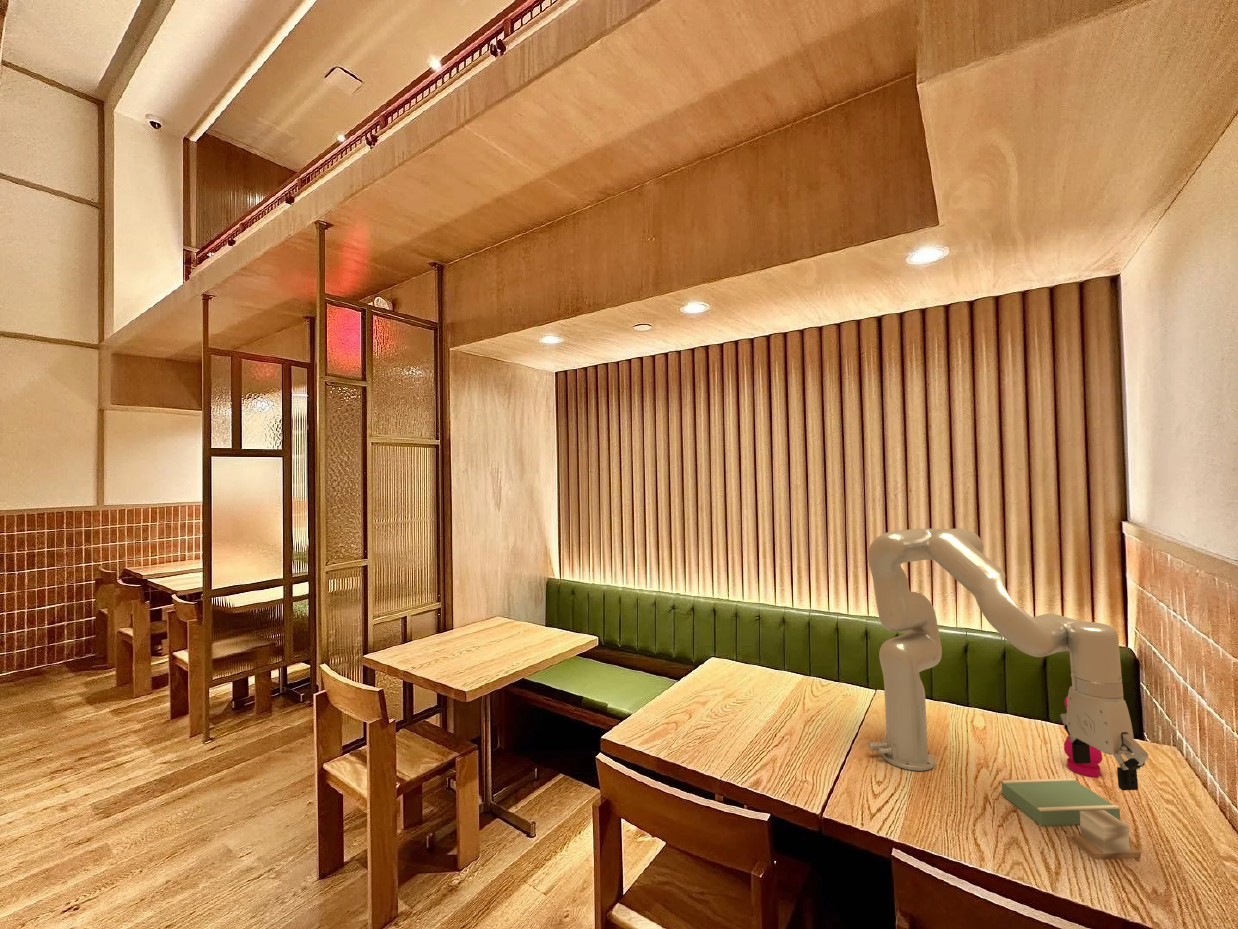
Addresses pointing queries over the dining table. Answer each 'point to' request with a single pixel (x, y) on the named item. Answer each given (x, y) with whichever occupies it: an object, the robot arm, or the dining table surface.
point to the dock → (1055, 800)
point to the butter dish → (1104, 836)
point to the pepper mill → (1086, 768)
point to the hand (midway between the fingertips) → (1104, 775)
